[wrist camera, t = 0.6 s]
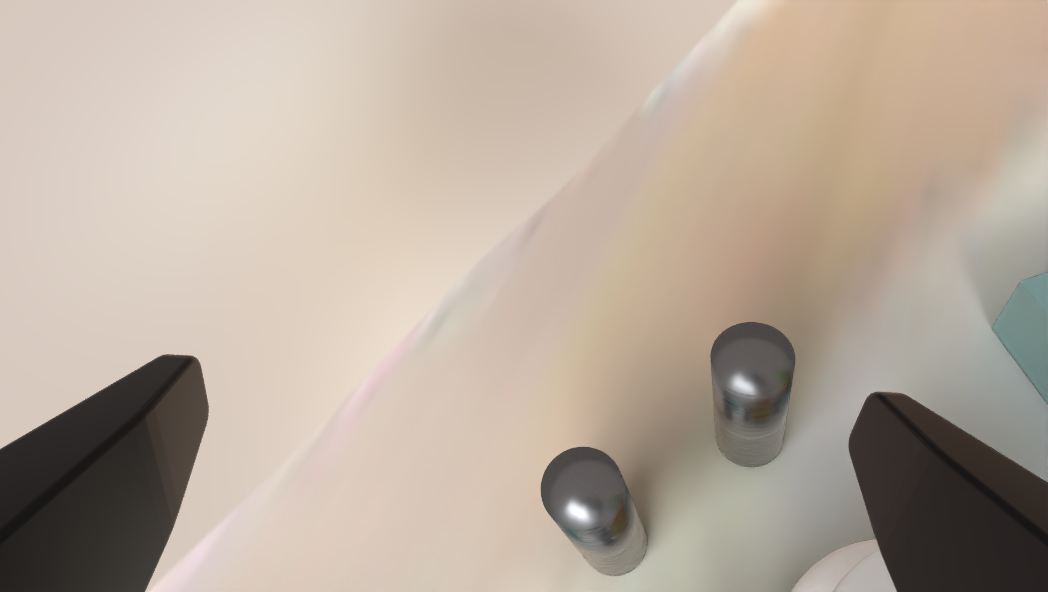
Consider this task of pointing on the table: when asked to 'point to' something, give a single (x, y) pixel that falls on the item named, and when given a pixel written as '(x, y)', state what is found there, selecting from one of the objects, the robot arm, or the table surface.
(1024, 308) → the teal tray
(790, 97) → the table surface
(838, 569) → the supplement bottle
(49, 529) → the robot arm
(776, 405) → the spacer field
